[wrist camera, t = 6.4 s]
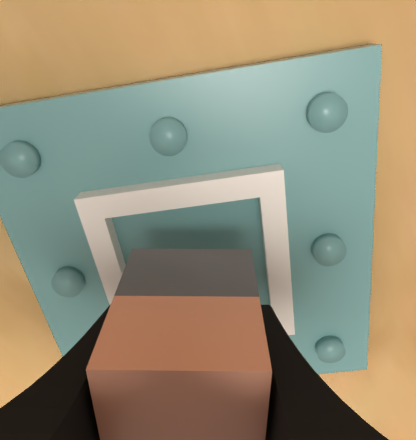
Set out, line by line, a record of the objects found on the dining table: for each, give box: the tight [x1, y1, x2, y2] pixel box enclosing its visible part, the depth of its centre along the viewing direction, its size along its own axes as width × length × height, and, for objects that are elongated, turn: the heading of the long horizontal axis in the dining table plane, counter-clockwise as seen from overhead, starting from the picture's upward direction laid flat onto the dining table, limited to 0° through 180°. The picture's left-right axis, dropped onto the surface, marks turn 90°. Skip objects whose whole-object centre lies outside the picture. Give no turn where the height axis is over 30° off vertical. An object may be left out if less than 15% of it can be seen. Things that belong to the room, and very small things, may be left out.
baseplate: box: [0, 44, 382, 374], centre depth 17 cm, size 16×16×2 cm
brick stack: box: [86, 249, 272, 440], centre depth 12 cm, size 4×4×6 cm
